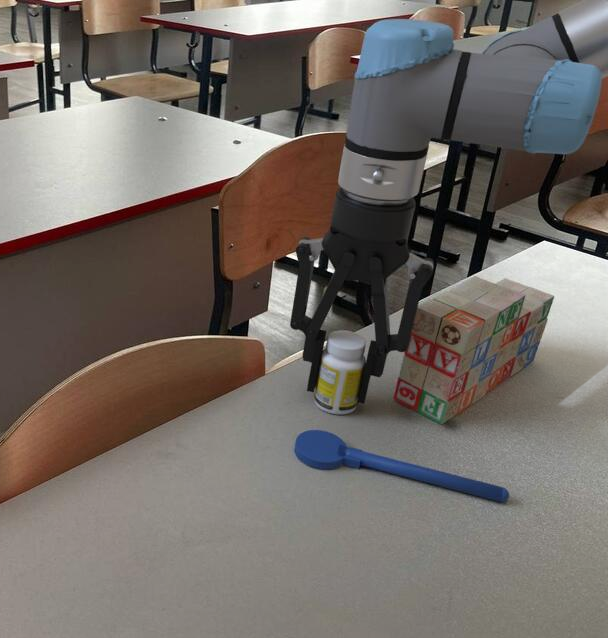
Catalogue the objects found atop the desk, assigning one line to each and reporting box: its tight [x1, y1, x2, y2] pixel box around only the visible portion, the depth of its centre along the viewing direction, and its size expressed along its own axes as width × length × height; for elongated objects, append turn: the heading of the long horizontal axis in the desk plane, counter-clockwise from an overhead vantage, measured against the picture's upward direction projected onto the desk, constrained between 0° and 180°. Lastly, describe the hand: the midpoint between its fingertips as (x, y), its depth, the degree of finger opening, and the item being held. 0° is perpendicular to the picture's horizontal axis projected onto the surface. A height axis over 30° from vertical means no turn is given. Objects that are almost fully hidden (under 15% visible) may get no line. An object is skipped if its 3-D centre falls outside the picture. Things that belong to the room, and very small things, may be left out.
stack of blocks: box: [393, 275, 555, 425], centre depth 87 cm, size 21×6×12 cm, turn 129°
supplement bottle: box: [313, 329, 367, 415], centre depth 83 cm, size 5×5×8 cm
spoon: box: [293, 429, 510, 503], centre depth 75 cm, size 20×5×1 cm, turn 68°
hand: (336, 390), depth 85 cm, fingers closed on supplement bottle, 5 cm apart
